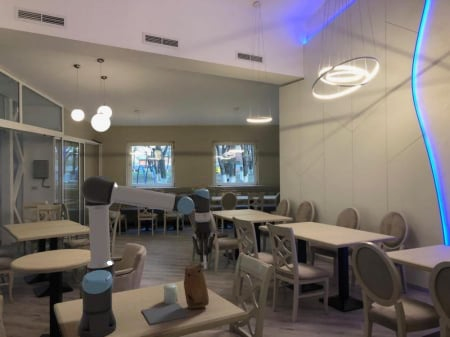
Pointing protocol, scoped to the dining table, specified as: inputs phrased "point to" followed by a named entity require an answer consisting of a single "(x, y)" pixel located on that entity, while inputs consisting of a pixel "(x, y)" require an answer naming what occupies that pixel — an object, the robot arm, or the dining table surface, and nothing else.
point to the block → (195, 286)
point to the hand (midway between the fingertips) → (204, 268)
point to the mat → (164, 313)
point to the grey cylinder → (170, 293)
